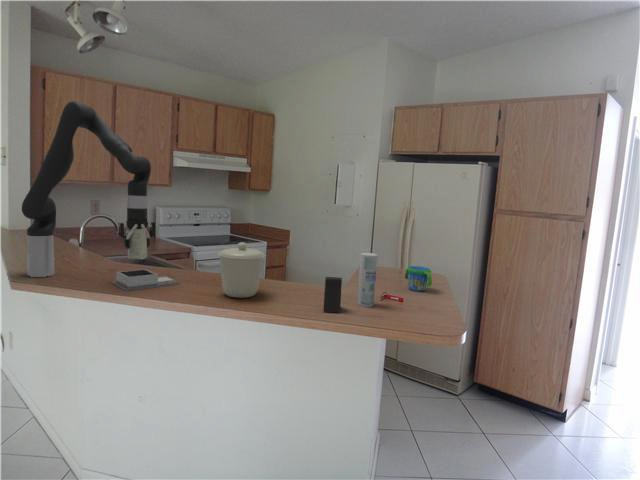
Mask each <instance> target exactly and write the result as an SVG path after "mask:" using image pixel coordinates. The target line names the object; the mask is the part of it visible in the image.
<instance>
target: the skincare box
mask: <svg viewBox="0 0 640 480" xmlns="http://www.w3.org/2000/svg"><path fill="white" fill-rule="evenodd" d="M146 230H147V228H146ZM126 231H130V229H128V228H127V229H126ZM147 231H148V230H147ZM129 240H130V245H129V249H127V259H128V260H129V259H131V260H144V259H147V258H148V247H147V236H146V233H145V229H135V230H134V232H133V234H132V235H131V236H130V238H129Z"/></svg>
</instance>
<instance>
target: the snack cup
mask: <svg viewBox="0 0 640 480" xmlns="http://www.w3.org/2000/svg"><path fill="white" fill-rule="evenodd" d="M431 272H432V269H430V268H429V267H425V266H417V265H410V266H407V267H406V270H405V273H404V278H405V280H407V283H408V290H411V291H414V292H419V293H421V292H424V291H426V288H427V287H429V288H430V287H431V286H432V285H433V280H432V274H431Z"/></svg>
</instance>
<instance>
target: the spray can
mask: <svg viewBox="0 0 640 480" xmlns="http://www.w3.org/2000/svg"><path fill="white" fill-rule="evenodd" d="M378 256H379V255H378V254H377V253H373V252H361V253H360V259H359V260H360V261H359V263H360V264H359V272H358V273H359V274H358V289H357V305H358V306H361V307H364V308H365V307H366V308H368V307H369V308H370V307H373V306H374V302H375V301H374V300H375V290H376V279H377V270H378V269H377V266H378Z"/></svg>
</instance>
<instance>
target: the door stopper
mask: <svg viewBox="0 0 640 480" xmlns="http://www.w3.org/2000/svg"><path fill="white" fill-rule="evenodd" d="M324 279H325V280H324V281H325V282H324V294H323V295H324V296H323V313H331V314H340V313H341V303H342V302H341V300H342V284H343V277H336V276H335V277H334V276H333V277H332V276H325V278H324Z"/></svg>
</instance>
